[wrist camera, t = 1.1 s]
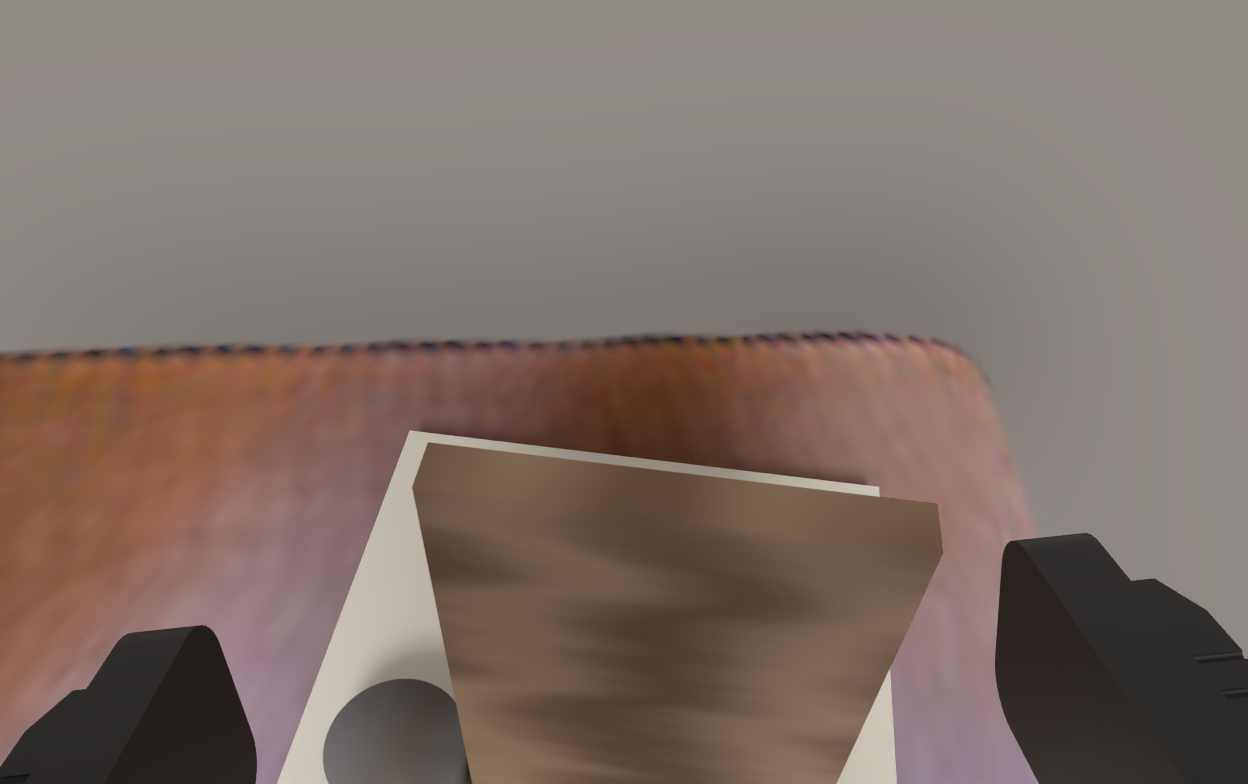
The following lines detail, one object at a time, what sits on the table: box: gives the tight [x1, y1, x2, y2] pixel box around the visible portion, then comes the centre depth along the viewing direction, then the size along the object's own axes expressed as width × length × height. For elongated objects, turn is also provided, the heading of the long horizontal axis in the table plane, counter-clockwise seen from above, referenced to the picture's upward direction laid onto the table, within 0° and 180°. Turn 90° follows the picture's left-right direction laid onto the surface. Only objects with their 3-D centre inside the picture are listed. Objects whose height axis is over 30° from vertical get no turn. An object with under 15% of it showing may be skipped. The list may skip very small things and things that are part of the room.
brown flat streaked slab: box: [323, 442, 943, 784], centre depth 26 cm, size 17×4×16 cm, turn 82°
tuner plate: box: [277, 431, 897, 784], centre depth 36 cm, size 20×18×2 cm
